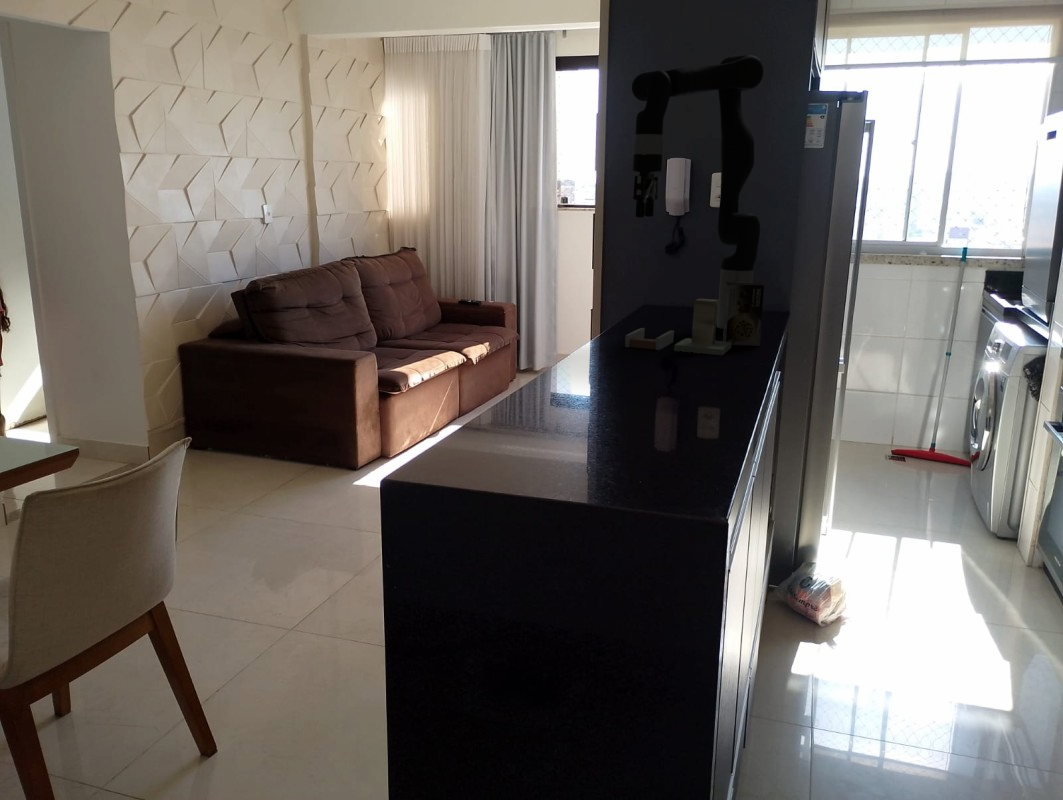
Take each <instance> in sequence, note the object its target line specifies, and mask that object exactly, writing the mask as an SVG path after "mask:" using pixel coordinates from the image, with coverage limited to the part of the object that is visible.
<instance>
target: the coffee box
mask: <svg viewBox="0 0 1063 800" xmlns="http://www.w3.org/2000/svg"><path fill="white" fill-rule="evenodd" d="M764 293H765V284H763V283H762V282H760V281H759V282H755V281H754V282H753V281H752V282H727V288H726V302H725V317H724V329H723V334H722V341H724V342H732V346H749V347H750V346H751V347H759V346H761V336H762V335H761V333H762V324H763V323H762V321H763V320H762V319H763V307H764V295H765V294H764Z"/></svg>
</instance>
